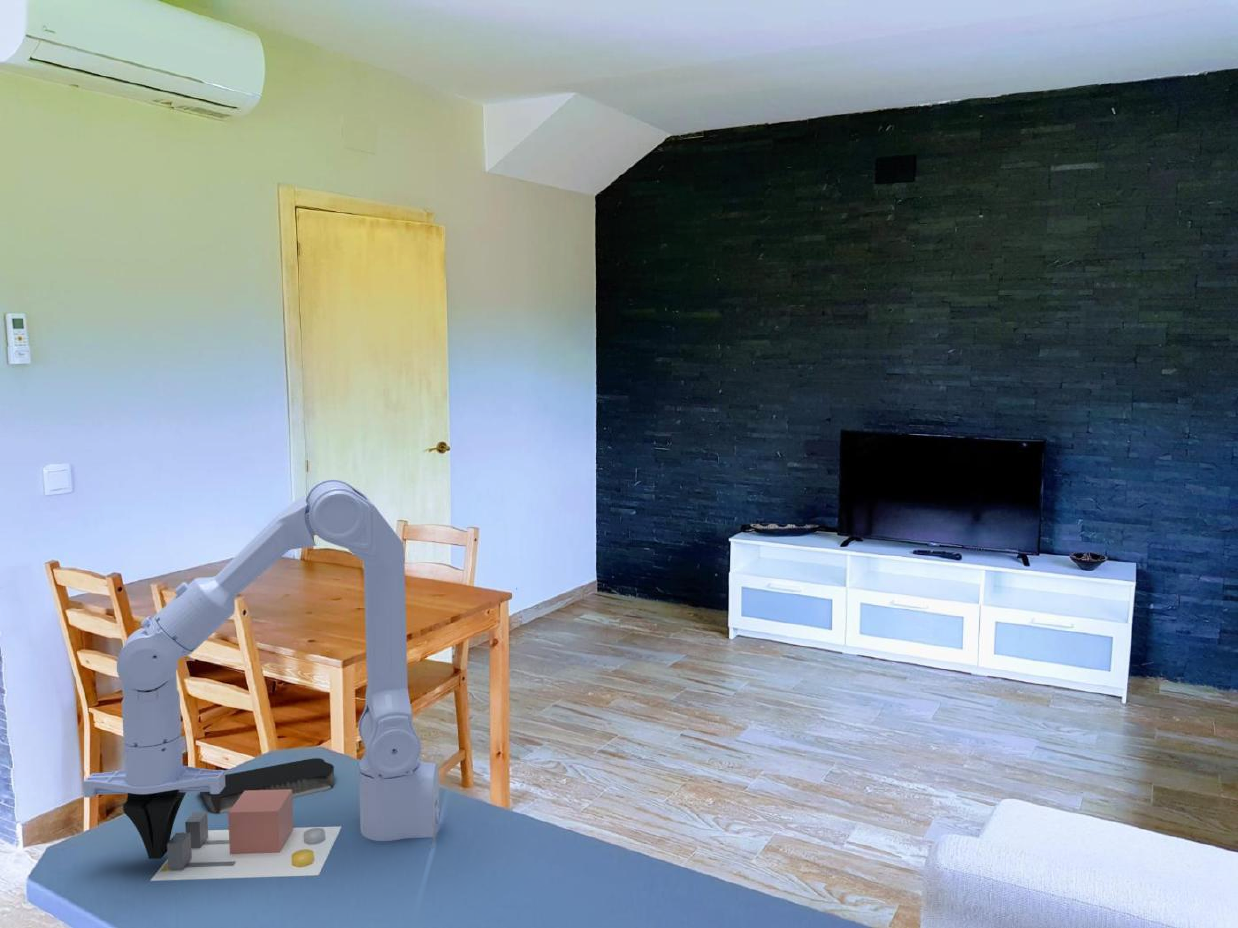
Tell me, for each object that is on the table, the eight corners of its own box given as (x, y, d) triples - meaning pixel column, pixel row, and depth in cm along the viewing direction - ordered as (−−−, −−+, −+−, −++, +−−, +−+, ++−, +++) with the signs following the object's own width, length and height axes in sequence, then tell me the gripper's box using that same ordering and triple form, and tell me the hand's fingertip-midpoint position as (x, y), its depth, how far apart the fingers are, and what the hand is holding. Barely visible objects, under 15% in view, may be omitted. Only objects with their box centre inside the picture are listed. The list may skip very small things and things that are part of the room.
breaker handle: (191, 857, 105) (190, 832, 105) (183, 868, 103) (182, 843, 102) (177, 858, 105) (176, 832, 105) (168, 869, 103) (167, 843, 102)
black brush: (206, 828, 115) (205, 799, 115) (198, 801, 123) (197, 774, 122) (339, 799, 124) (338, 772, 123) (324, 775, 131) (324, 750, 130)
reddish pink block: (293, 828, 112) (292, 789, 112) (279, 852, 107) (278, 810, 106) (246, 830, 112) (244, 790, 111) (229, 853, 106) (228, 812, 106)
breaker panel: (341, 835, 113) (340, 801, 113) (318, 885, 102) (317, 847, 102) (190, 840, 112) (188, 805, 111) (150, 890, 101) (148, 852, 100)
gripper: (232, 721, 107) (237, 834, 108) (102, 724, 106) (109, 838, 107) (209, 746, 100) (215, 866, 101) (70, 749, 99) (77, 870, 100)
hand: (158, 854), depth 104 cm, fingers closed
